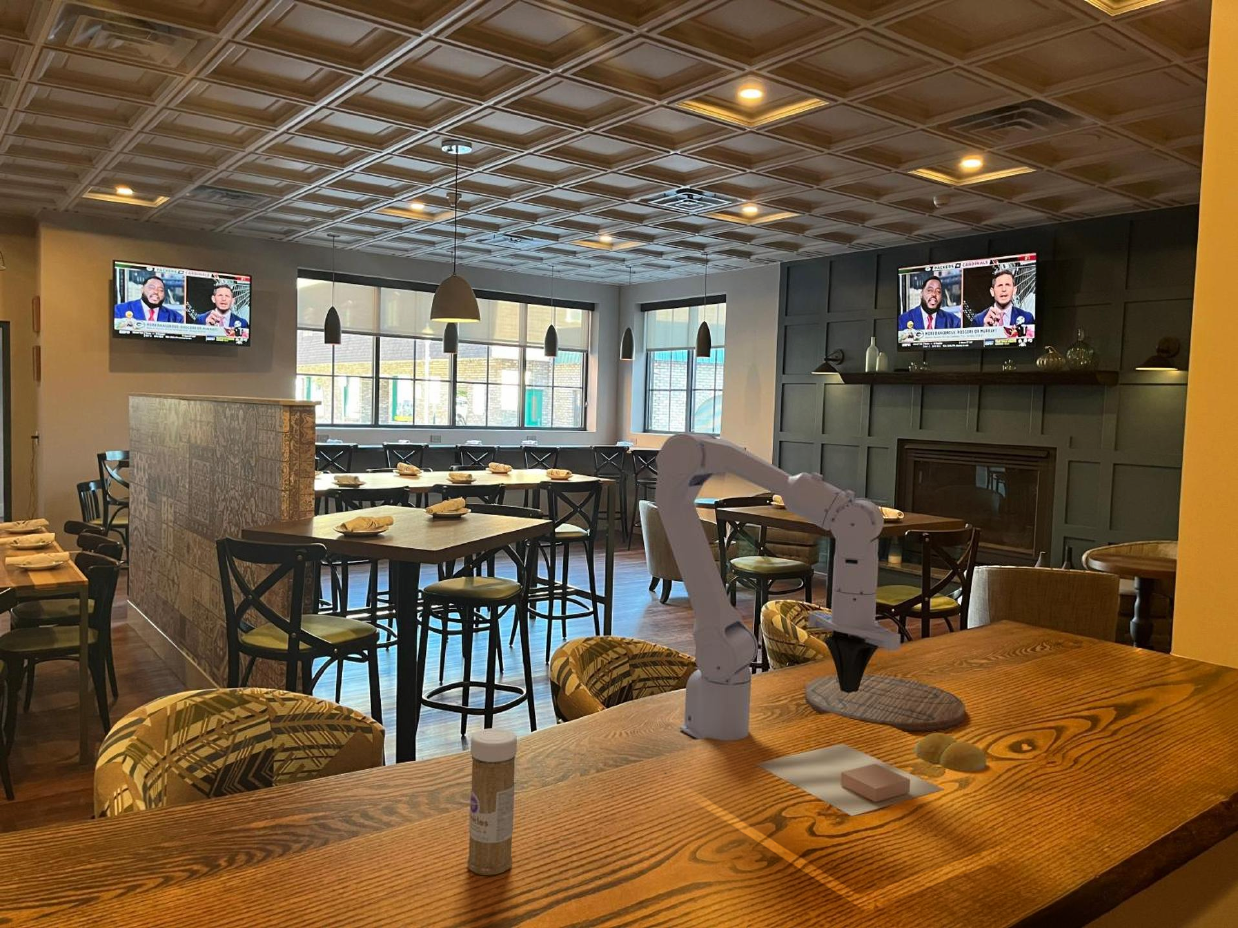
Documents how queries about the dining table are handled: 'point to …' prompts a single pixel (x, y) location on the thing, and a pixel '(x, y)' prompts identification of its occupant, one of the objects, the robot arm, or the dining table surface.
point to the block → (875, 782)
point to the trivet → (888, 703)
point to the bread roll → (950, 753)
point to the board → (839, 777)
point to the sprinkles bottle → (492, 801)
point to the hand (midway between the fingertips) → (849, 690)
